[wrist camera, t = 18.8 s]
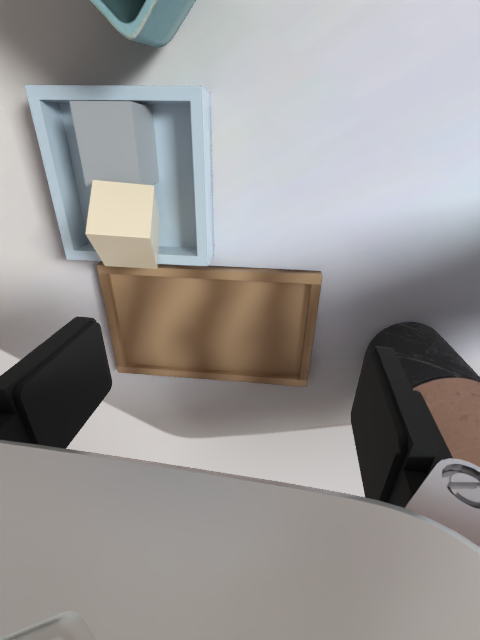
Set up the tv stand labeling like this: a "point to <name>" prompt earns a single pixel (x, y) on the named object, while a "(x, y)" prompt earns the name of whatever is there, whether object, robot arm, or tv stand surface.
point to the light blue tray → (172, 156)
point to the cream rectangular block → (124, 224)
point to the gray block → (116, 141)
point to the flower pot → (145, 18)
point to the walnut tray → (212, 321)
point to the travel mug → (439, 384)
